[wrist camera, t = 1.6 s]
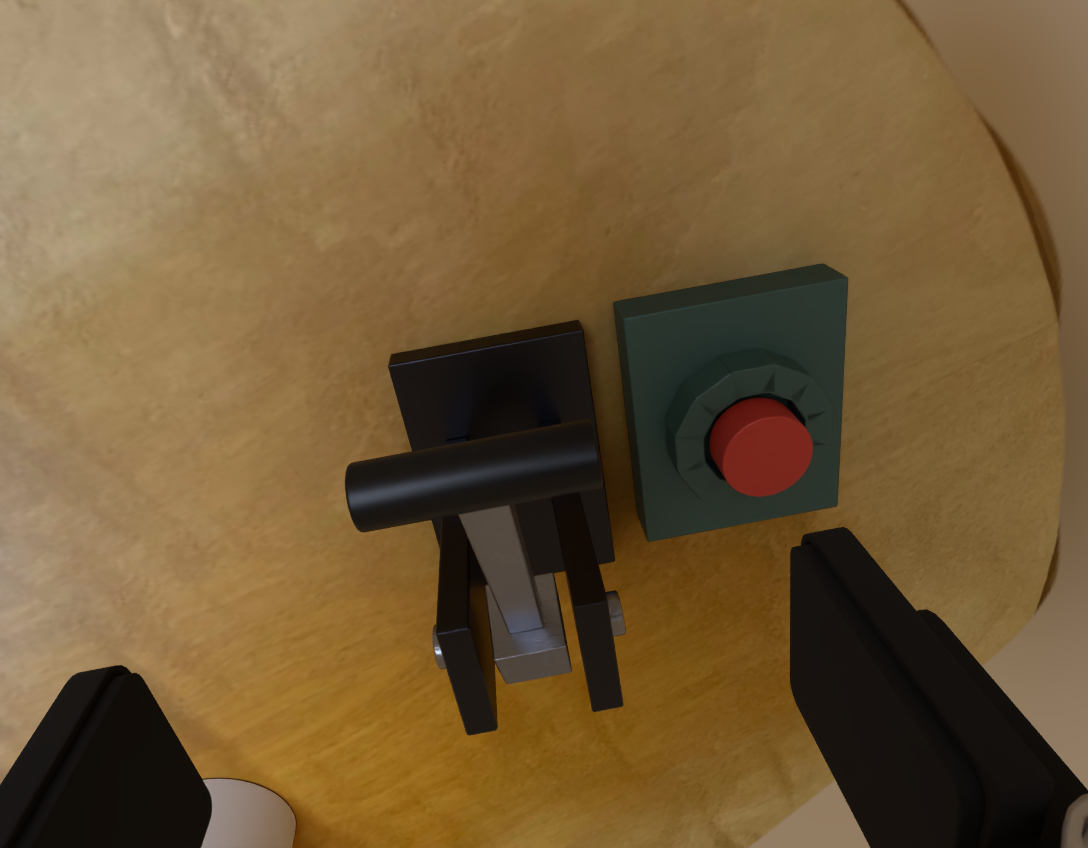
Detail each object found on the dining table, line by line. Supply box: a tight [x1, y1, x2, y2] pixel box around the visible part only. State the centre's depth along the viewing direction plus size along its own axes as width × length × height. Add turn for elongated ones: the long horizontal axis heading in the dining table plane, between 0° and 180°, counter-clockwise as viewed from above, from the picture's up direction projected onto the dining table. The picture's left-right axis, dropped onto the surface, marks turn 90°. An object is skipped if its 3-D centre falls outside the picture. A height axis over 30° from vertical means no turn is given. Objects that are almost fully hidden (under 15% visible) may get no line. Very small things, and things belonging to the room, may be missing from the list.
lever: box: [345, 419, 603, 684], centre depth 19 cm, size 12×5×2 cm, turn 9°
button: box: [709, 398, 813, 497], centre depth 28 cm, size 4×4×2 cm
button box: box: [613, 264, 848, 542], centre depth 30 cm, size 11×9×4 cm
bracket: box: [388, 320, 626, 735], centre depth 27 cm, size 12×8×13 cm, turn 9°
